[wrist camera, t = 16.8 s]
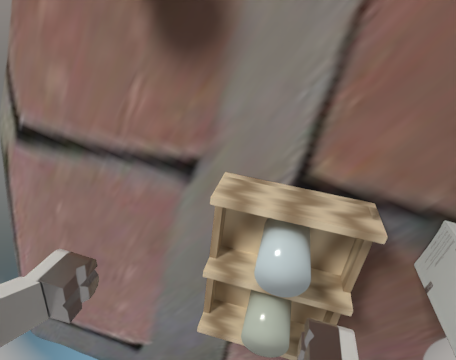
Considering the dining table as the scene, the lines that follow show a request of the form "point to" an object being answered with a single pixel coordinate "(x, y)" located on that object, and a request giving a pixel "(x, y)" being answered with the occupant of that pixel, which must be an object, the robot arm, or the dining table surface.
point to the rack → (250, 243)
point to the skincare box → (441, 278)
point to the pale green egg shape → (267, 324)
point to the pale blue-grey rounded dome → (284, 259)
